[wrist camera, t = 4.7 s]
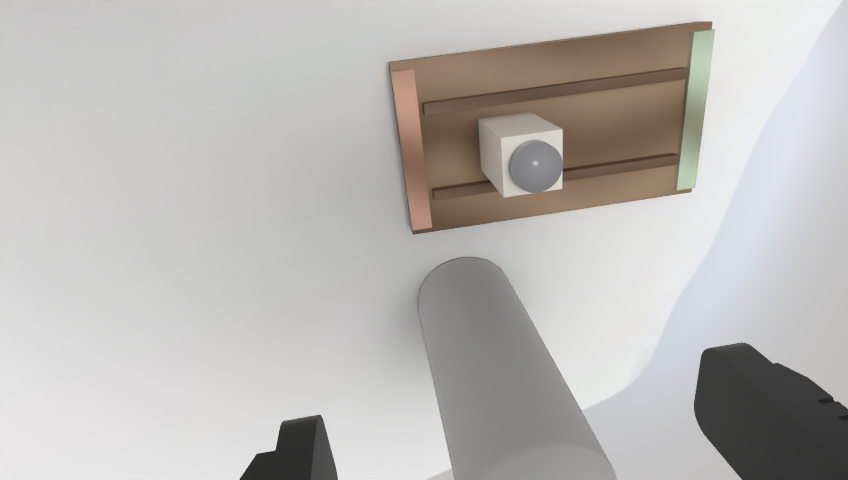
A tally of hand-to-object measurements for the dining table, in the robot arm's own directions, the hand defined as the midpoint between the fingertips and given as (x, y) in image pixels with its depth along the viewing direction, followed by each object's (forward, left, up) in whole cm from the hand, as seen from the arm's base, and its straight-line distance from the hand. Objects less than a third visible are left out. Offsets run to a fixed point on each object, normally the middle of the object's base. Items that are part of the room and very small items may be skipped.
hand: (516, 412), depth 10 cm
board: (-1, +8, -21) cm, 23 cm away
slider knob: (-1, +5, -20) cm, 21 cm away
